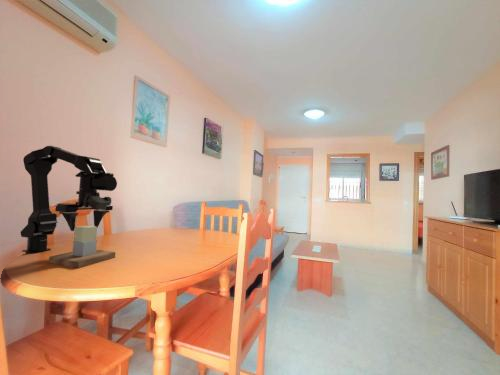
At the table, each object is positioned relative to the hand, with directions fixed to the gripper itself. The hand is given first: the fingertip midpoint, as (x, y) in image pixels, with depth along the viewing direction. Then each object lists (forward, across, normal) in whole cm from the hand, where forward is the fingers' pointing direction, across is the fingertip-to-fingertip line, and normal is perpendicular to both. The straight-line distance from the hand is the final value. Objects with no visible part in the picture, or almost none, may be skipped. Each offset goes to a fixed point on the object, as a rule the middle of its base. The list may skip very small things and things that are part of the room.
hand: (84, 229), depth 89 cm
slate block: (+8, -3, -5) cm, 10 cm away
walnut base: (+10, -3, -5) cm, 12 cm away
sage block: (+3, -3, -4) cm, 6 cm away
